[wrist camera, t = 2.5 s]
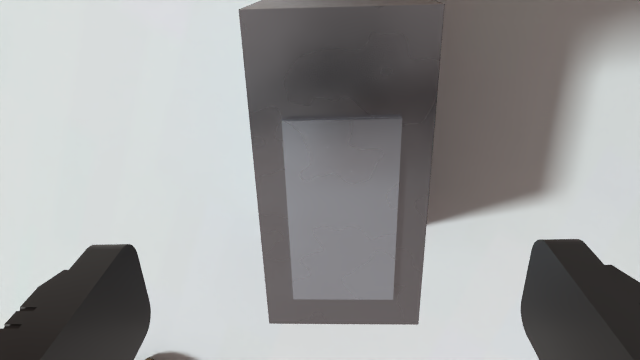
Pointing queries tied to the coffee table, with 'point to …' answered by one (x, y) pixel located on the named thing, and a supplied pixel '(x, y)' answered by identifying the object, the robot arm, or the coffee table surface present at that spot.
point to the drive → (342, 153)
